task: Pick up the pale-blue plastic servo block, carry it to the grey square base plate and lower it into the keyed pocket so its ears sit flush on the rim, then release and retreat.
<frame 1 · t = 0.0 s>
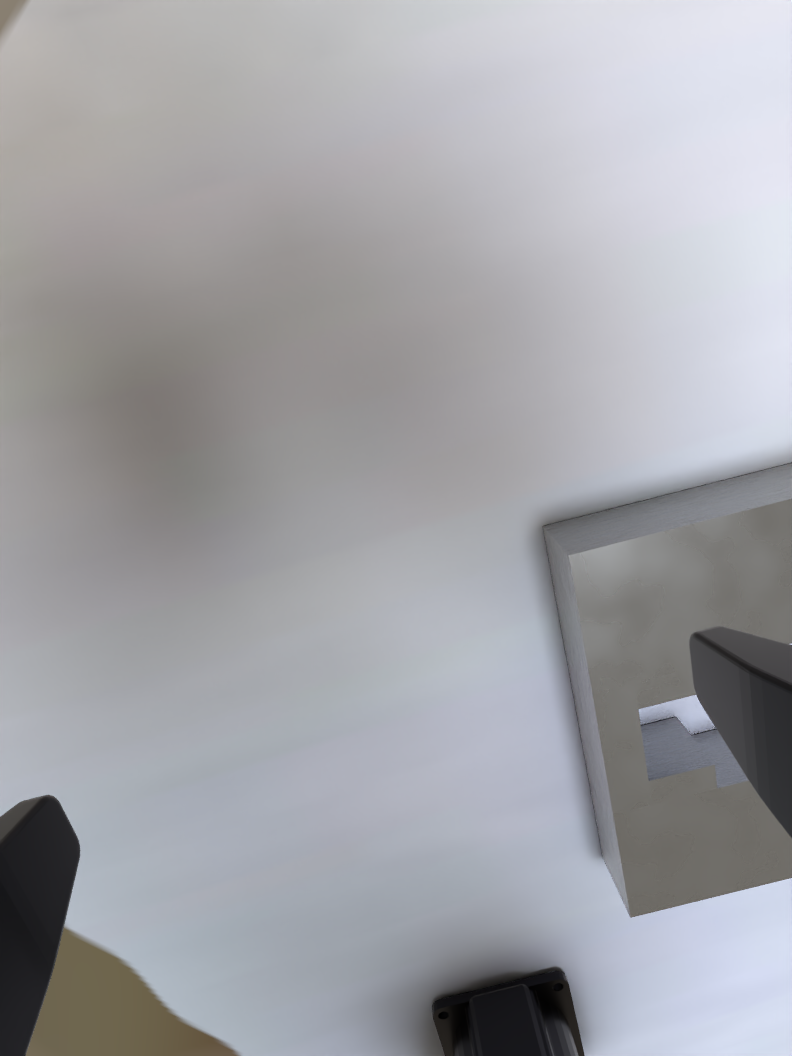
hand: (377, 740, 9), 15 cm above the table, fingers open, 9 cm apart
grey square base plate: (769, 659, 26), on the table
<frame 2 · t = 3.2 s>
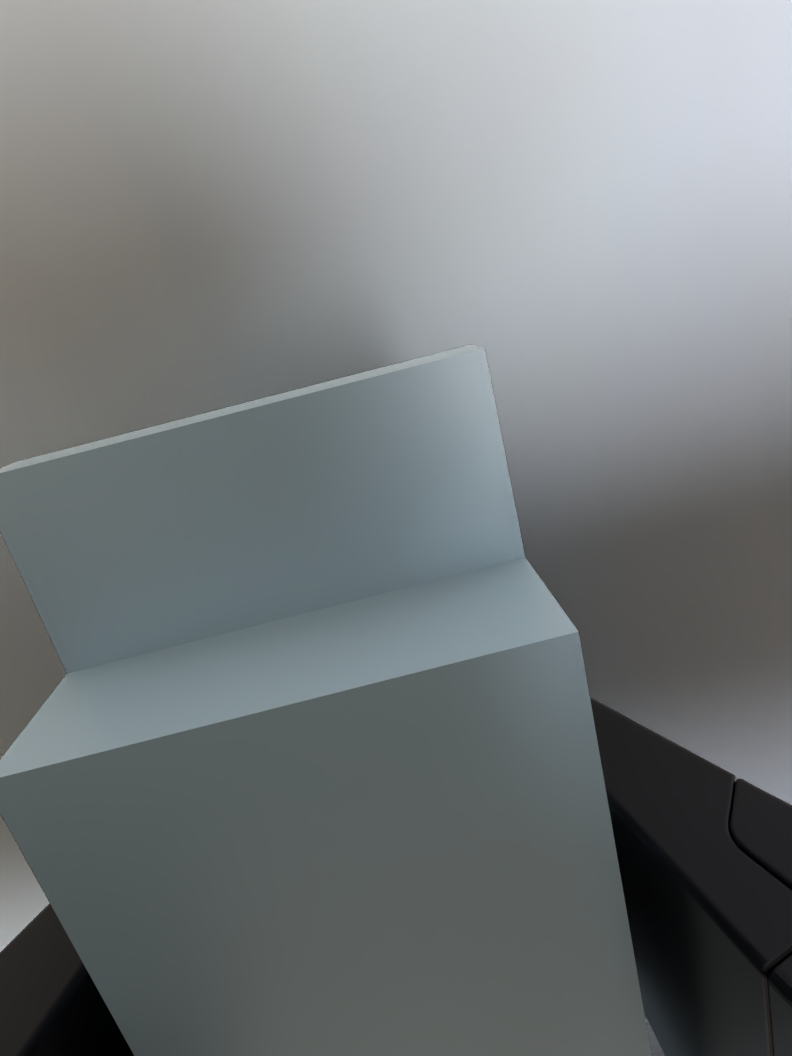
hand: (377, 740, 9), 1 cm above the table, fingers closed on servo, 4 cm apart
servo: (374, 696, 10), on the table, touching gripper
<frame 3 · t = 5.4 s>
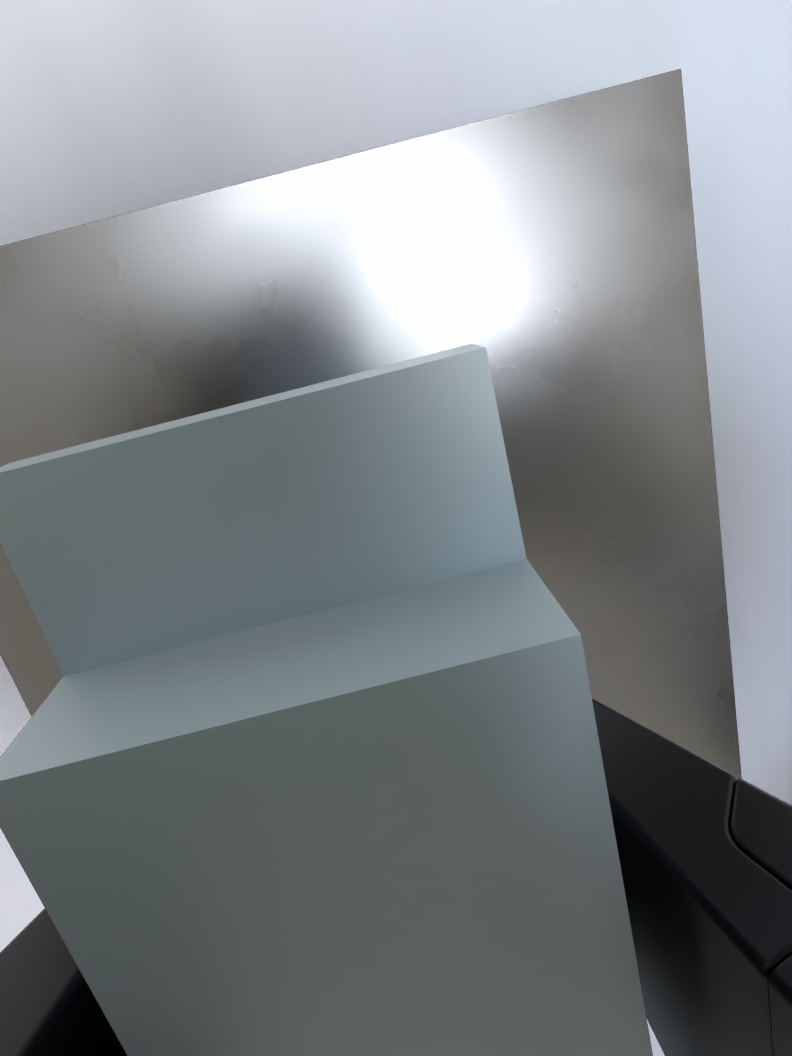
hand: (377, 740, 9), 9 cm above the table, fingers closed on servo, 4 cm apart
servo: (374, 698, 10), point 8 cm above the table, touching gripper
grey square base plate: (358, 534, 17), on the table
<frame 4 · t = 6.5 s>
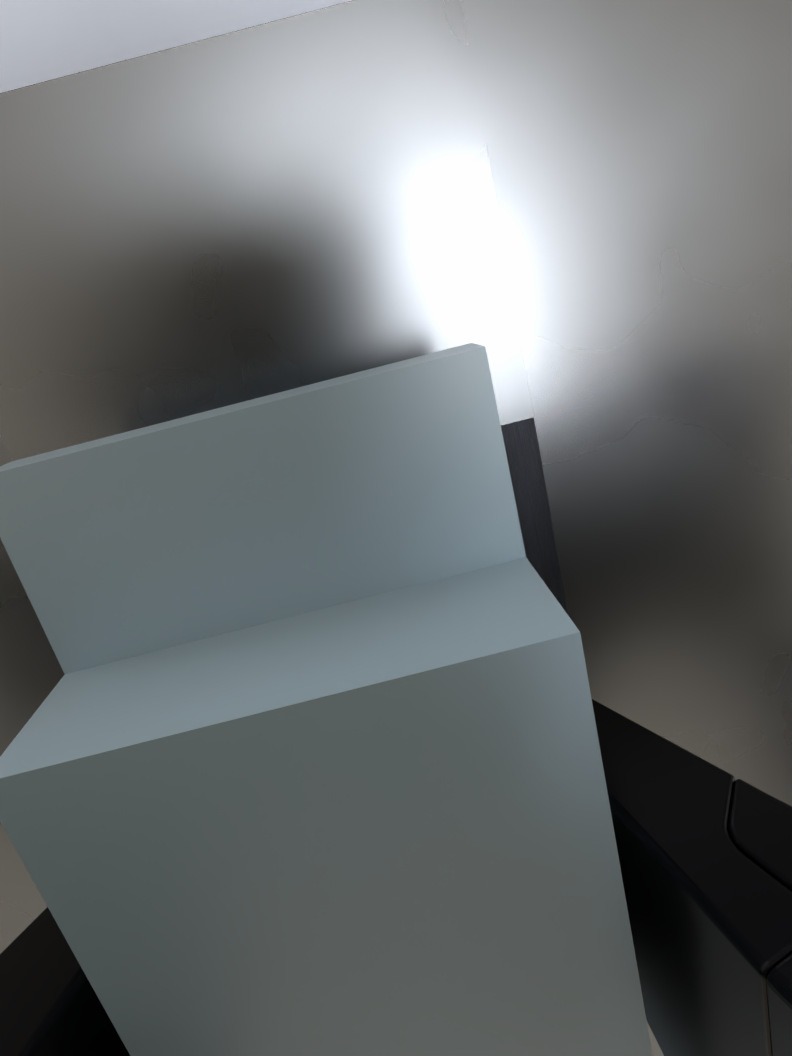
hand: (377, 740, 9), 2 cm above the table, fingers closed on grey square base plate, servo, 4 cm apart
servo: (374, 697, 10), point 1 cm above the table, touching gripper
grey square base plate: (372, 658, 11), on the table
when the fingers open (2 cm above the table, at t = 7.8 s): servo drops 1 cm, resting on grey square base plate.
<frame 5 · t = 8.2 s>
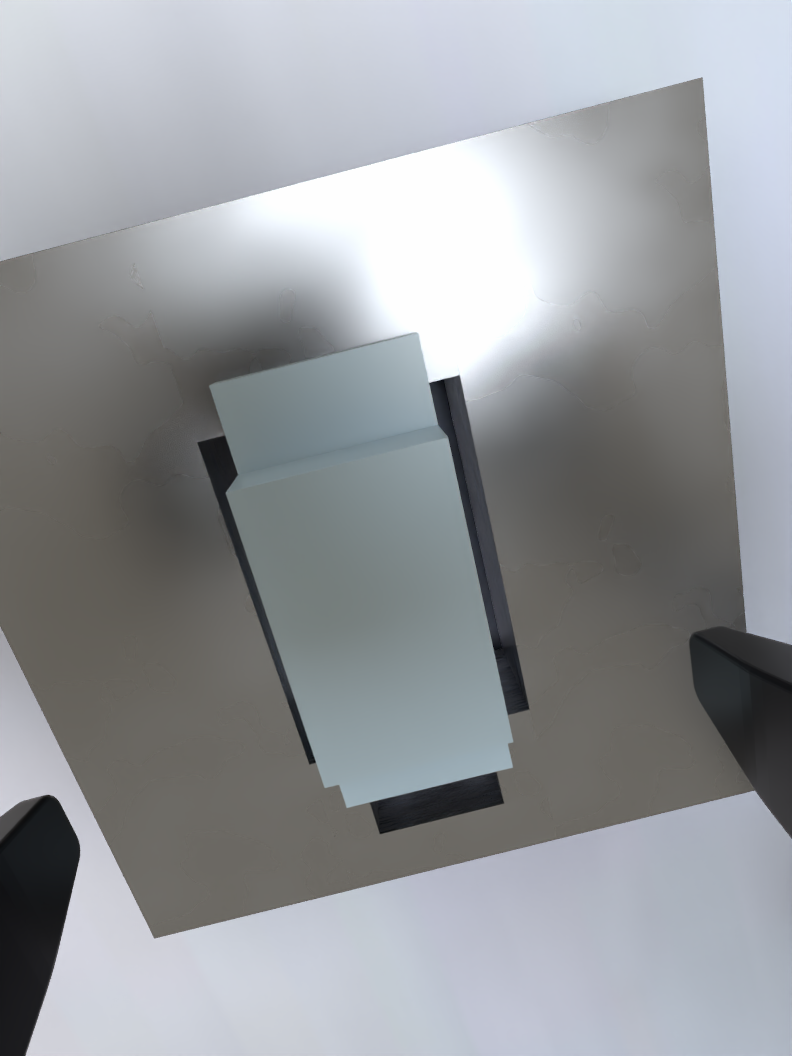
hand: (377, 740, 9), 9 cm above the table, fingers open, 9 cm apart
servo: (372, 540, 17), resting on grey square base plate
grey square base plate: (373, 542, 17), on the table
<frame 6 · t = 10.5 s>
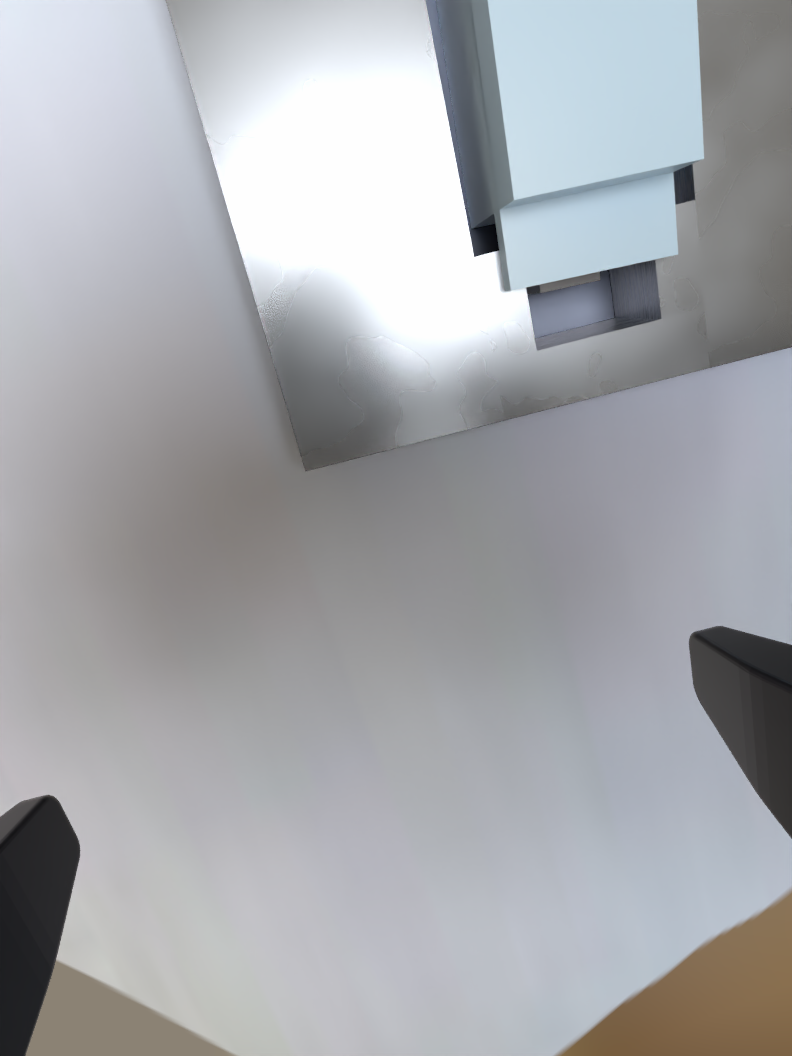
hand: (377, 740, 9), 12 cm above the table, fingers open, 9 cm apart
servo: (525, 79, 17), resting on grey square base plate
grey square base plate: (523, 79, 17), on the table
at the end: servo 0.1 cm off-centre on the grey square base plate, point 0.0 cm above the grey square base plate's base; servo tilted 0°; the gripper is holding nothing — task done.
